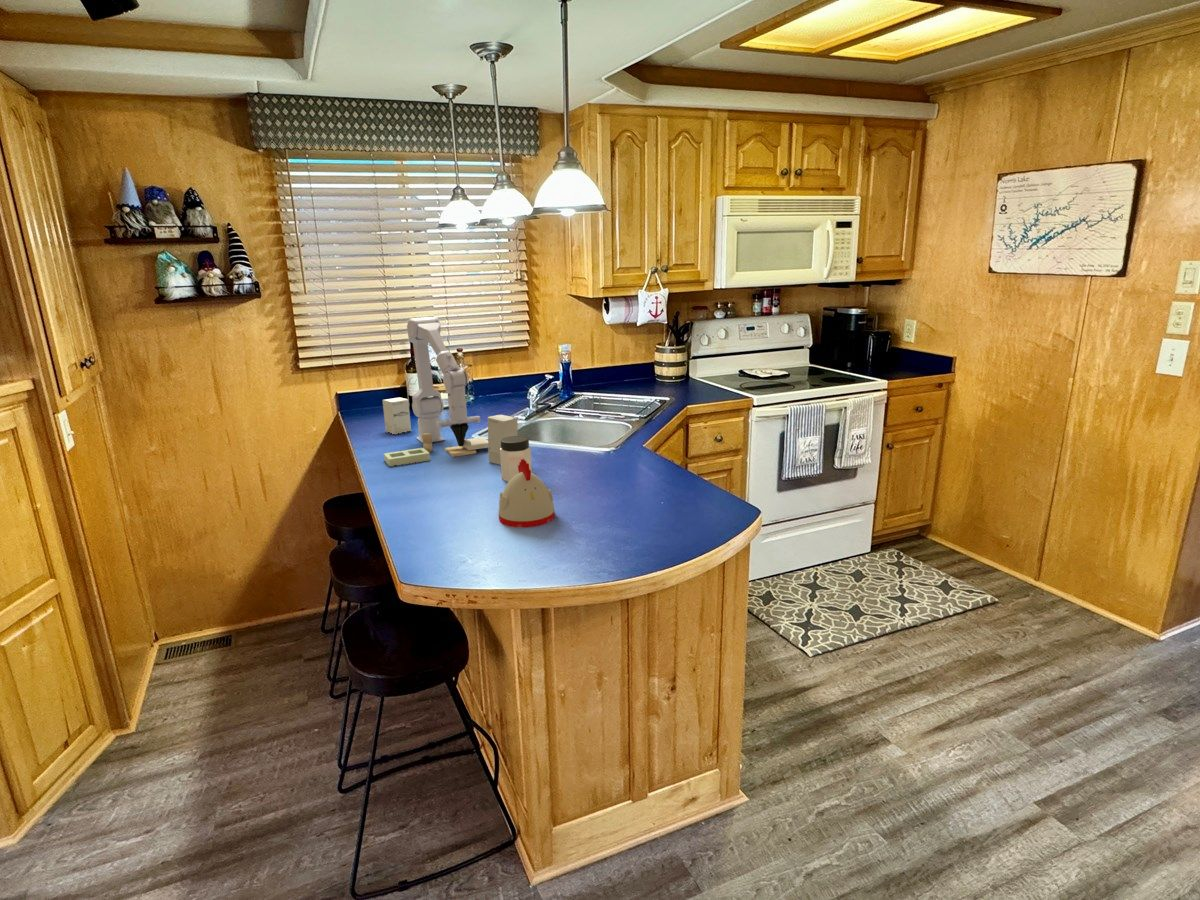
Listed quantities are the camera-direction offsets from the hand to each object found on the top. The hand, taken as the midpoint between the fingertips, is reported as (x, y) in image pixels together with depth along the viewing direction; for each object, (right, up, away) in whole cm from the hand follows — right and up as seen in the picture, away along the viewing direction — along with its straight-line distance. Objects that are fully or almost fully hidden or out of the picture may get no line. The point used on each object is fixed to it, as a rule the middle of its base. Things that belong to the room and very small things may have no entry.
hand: (460, 445), depth 235 cm
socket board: (-16, -5, -8) cm, 18 cm away
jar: (+23, -10, -29) cm, 38 cm away
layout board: (0, -2, 0) cm, 2 cm away
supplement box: (-30, +5, +31) cm, 44 cm away
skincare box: (+16, -6, -13) cm, 22 cm away
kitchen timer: (+29, -19, -60) cm, 69 cm away
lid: (+5, 0, +3) cm, 5 cm away
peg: (-12, -2, +3) cm, 12 cm away
